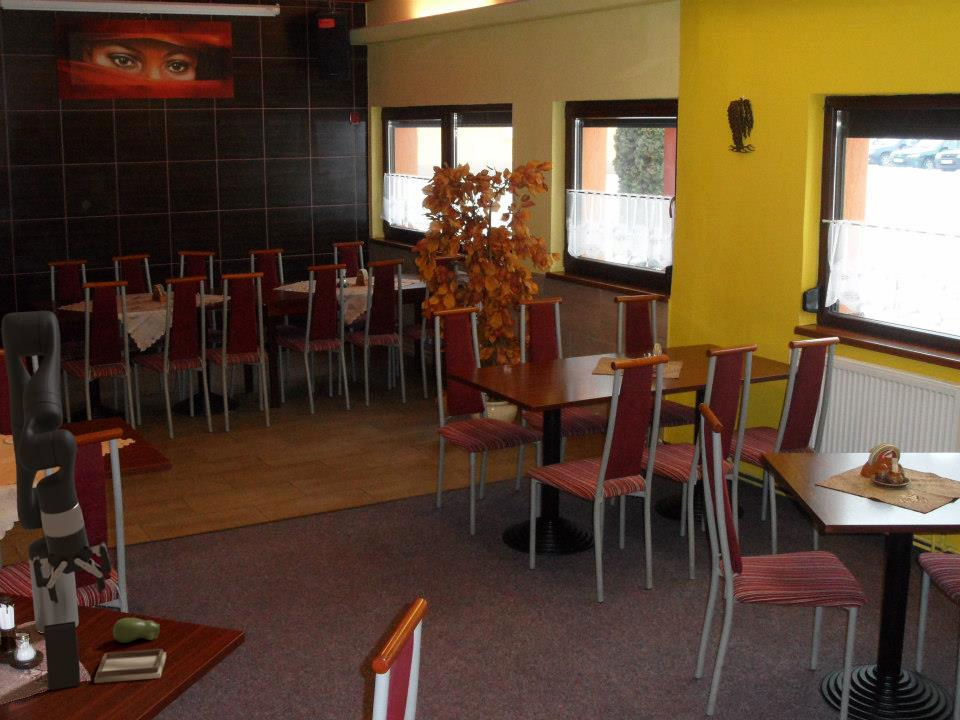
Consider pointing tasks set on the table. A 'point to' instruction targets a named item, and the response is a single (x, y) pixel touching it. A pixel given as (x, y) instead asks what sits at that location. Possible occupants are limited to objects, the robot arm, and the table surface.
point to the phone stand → (62, 655)
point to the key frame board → (131, 665)
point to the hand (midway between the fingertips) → (78, 596)
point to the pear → (135, 629)
